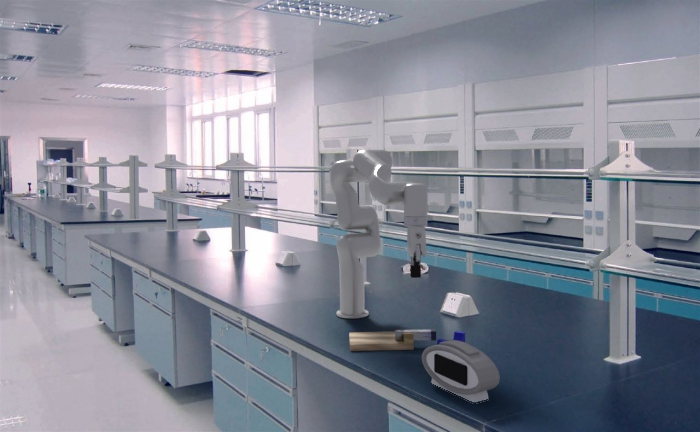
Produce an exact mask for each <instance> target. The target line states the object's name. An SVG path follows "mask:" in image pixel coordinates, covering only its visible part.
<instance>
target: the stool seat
mask: <svg viewBox="0 0 700 432" xmlns="http://www.w3.org/2000/svg"><path fill="white" fill-rule="evenodd" d="M348 333H349V334H348V340H349V351H350V352H359V351H361V352H363V351H399V350H414V348H415V347H414V346H415V344H414V341H415V340H414V334H413V333H404V341H396V340H395V331H364V332H363V331H358V332H356V331H355V332H348Z"/></svg>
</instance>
